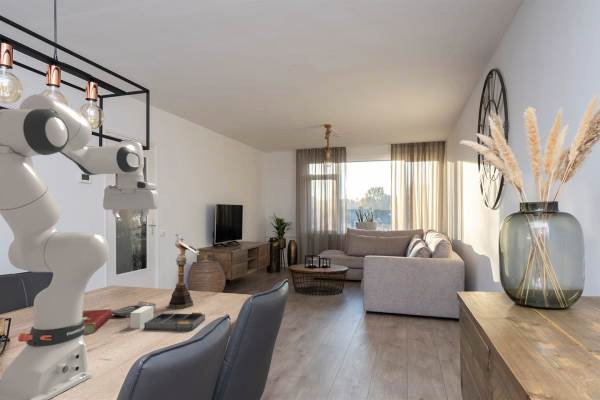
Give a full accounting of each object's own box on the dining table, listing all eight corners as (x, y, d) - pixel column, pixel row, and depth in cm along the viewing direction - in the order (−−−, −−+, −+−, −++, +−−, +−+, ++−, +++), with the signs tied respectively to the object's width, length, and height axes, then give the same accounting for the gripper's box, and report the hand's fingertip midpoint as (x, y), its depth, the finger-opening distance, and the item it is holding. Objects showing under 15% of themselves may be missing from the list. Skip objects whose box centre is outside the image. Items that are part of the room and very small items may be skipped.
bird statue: (202, 300, 179) (203, 231, 181) (204, 306, 167) (205, 232, 169) (168, 303, 174) (169, 232, 176) (167, 309, 162) (168, 233, 163)
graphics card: (140, 300, 168) (156, 302, 162) (140, 308, 167) (156, 311, 161) (105, 308, 153) (121, 311, 147) (105, 317, 153) (121, 320, 147)
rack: (192, 330, 131) (192, 322, 131) (144, 329, 133) (144, 321, 133) (205, 320, 145) (205, 312, 145) (161, 319, 146) (161, 311, 147)
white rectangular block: (140, 328, 135) (140, 312, 135) (130, 328, 135) (130, 312, 136) (153, 320, 145) (153, 306, 145) (144, 320, 145) (144, 306, 146)
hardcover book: (112, 318, 150) (112, 308, 151) (94, 334, 130) (95, 322, 130) (81, 320, 148) (81, 310, 148) (58, 336, 127) (58, 325, 128)
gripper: (99, 184, 128) (98, 222, 128) (152, 183, 127) (152, 221, 126) (109, 185, 135) (109, 221, 134) (160, 184, 133) (160, 221, 132)
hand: (130, 221), depth 130 cm, fingers open, 8 cm apart
